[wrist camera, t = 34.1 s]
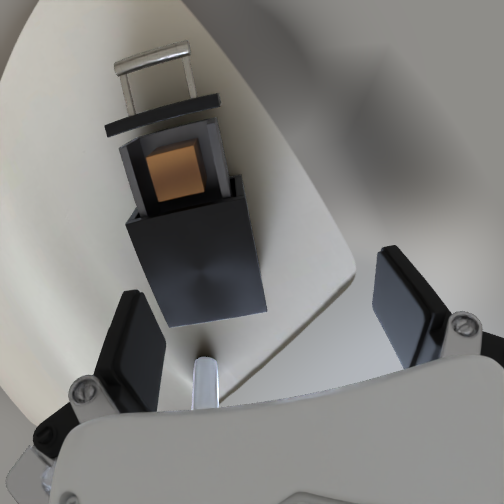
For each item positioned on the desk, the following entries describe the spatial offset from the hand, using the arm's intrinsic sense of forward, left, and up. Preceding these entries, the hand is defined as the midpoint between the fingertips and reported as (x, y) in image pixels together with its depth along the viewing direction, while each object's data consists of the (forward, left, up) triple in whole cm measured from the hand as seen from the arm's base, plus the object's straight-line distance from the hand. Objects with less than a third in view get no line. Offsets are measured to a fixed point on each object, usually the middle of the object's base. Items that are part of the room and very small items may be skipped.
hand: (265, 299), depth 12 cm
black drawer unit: (+11, -1, -24) cm, 26 cm away
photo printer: (+37, +6, -24) cm, 44 cm away
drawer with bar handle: (-1, -7, -23) cm, 24 cm away
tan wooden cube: (+2, -6, -22) cm, 23 cm away
